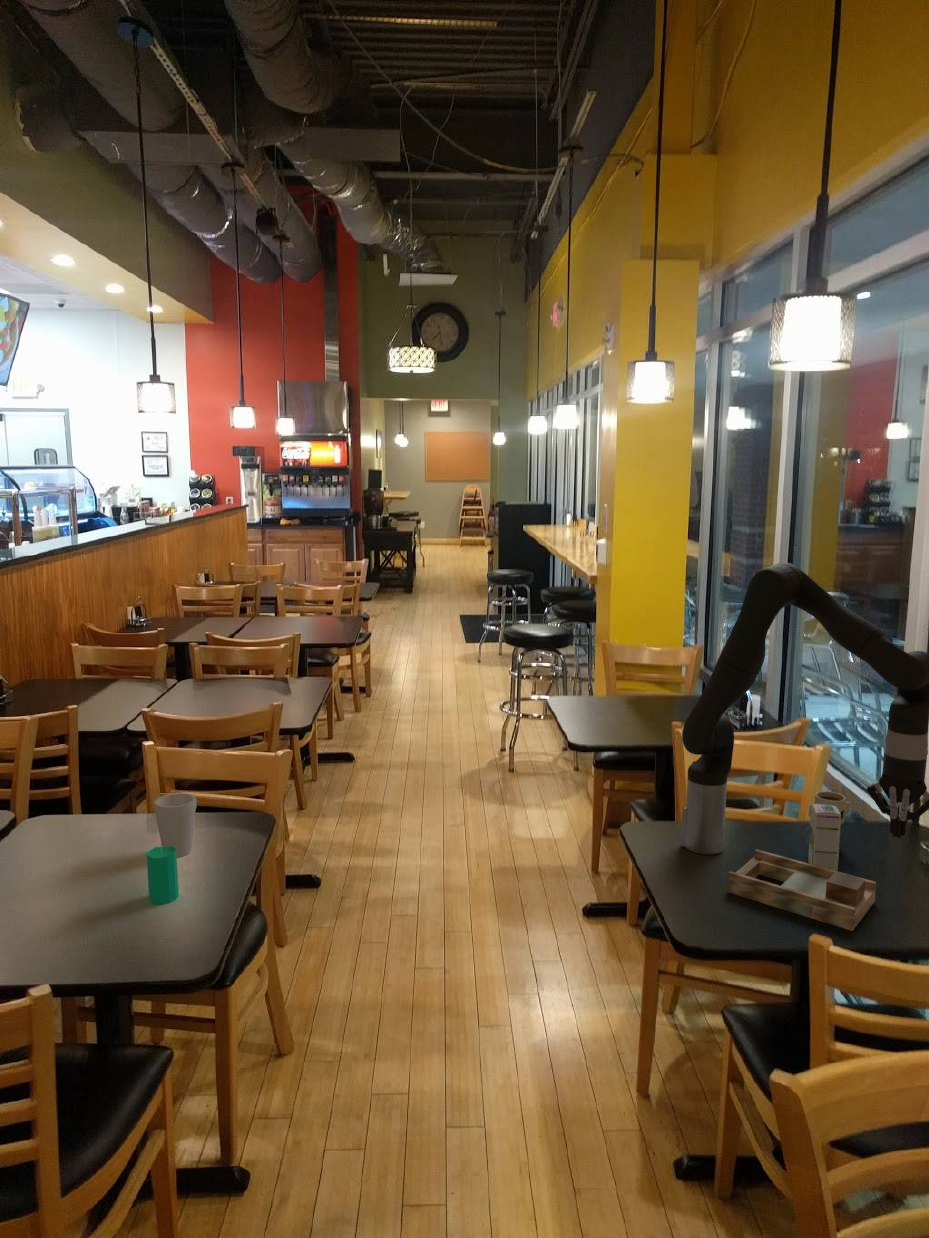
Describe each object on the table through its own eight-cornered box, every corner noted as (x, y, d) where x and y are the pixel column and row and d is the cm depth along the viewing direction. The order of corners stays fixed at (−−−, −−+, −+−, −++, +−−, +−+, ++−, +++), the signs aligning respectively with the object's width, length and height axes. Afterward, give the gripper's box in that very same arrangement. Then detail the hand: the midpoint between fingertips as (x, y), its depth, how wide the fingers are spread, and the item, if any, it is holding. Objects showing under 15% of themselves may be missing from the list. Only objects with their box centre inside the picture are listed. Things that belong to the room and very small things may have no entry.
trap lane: (727, 892, 192) (728, 872, 191) (755, 867, 204) (756, 849, 204) (852, 931, 176) (854, 909, 175) (874, 901, 188) (876, 881, 187)
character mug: (815, 854, 212) (818, 802, 210) (798, 842, 219) (801, 792, 217) (855, 850, 214) (859, 799, 212) (837, 839, 221) (841, 789, 219)
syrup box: (838, 874, 201) (843, 813, 199) (810, 871, 202) (815, 811, 200) (833, 863, 207) (837, 804, 204) (806, 861, 208) (810, 802, 205)
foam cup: (206, 850, 211) (204, 798, 209) (175, 863, 204) (172, 810, 202) (179, 841, 216) (177, 790, 214) (148, 854, 209) (145, 801, 207)
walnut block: (825, 897, 184) (826, 881, 183) (834, 887, 188) (835, 871, 188) (855, 906, 180) (857, 890, 179) (864, 895, 184) (865, 879, 184)
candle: (184, 893, 189) (182, 840, 187) (166, 906, 184) (163, 851, 182) (161, 889, 191) (158, 836, 189) (142, 901, 185) (139, 847, 184)
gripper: (864, 750, 174) (857, 833, 177) (938, 764, 166) (930, 851, 169) (874, 741, 180) (867, 822, 183) (946, 754, 172) (938, 839, 175)
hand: (897, 836), depth 176 cm, fingers closed
